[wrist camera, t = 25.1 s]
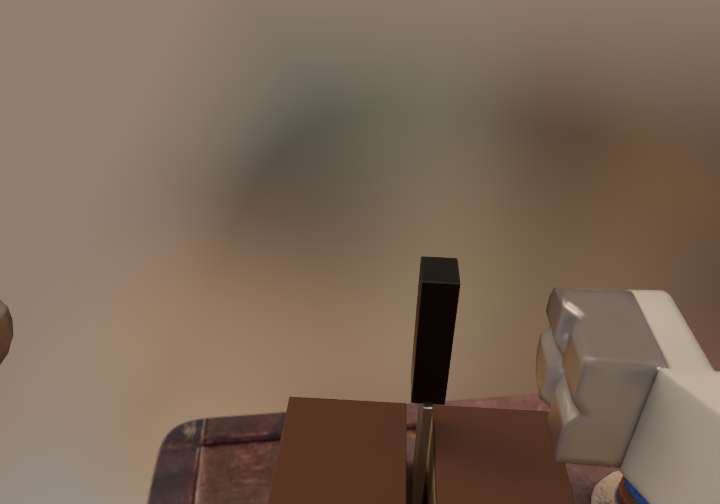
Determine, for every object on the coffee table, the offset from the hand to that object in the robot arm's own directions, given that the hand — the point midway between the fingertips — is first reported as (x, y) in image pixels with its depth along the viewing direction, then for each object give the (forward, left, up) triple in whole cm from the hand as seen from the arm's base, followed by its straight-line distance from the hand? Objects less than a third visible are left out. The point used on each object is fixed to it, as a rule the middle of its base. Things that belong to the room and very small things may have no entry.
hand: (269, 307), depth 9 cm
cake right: (+9, +19, -33) cm, 39 cm away
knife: (+5, +20, -33) cm, 39 cm away
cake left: (0, +19, -33) cm, 37 cm away
